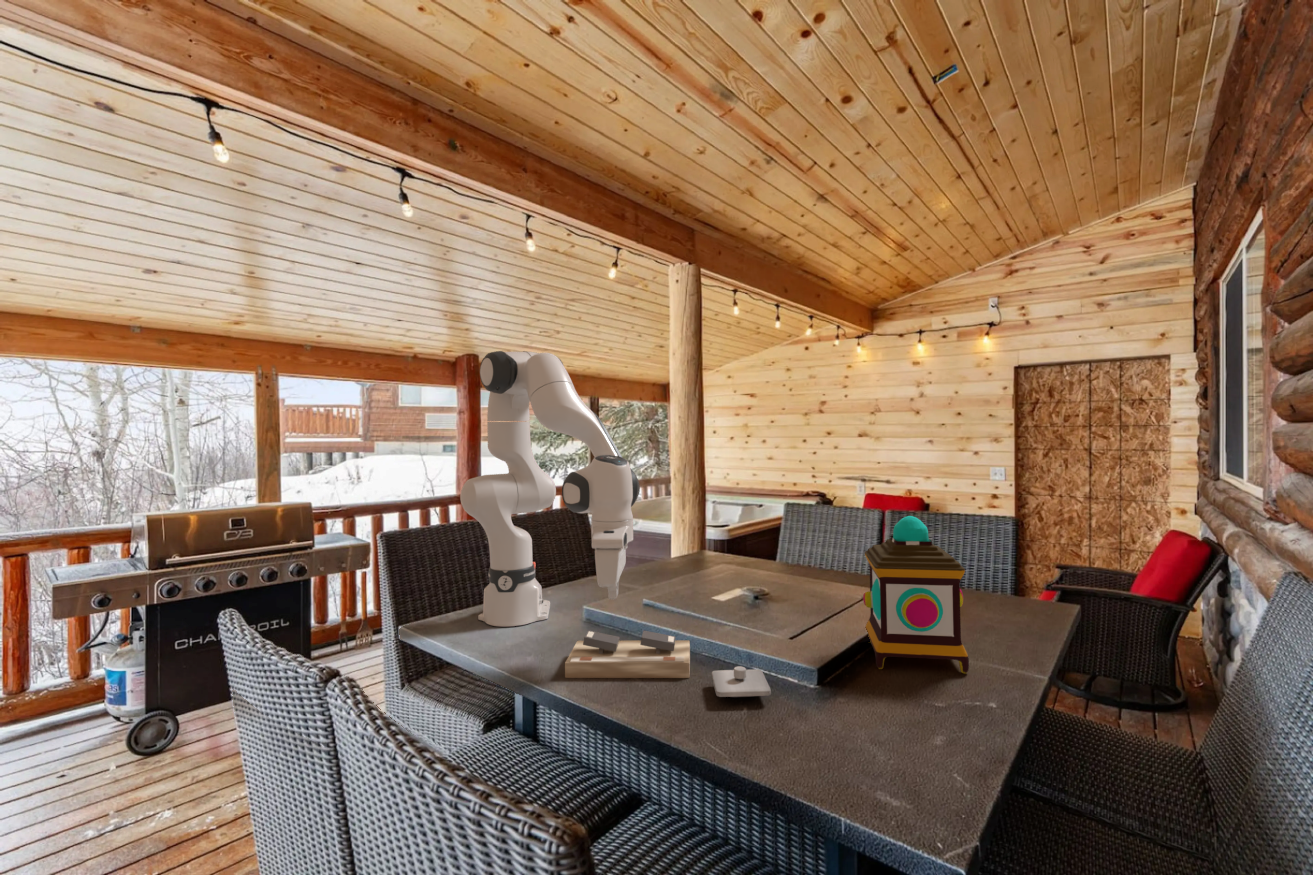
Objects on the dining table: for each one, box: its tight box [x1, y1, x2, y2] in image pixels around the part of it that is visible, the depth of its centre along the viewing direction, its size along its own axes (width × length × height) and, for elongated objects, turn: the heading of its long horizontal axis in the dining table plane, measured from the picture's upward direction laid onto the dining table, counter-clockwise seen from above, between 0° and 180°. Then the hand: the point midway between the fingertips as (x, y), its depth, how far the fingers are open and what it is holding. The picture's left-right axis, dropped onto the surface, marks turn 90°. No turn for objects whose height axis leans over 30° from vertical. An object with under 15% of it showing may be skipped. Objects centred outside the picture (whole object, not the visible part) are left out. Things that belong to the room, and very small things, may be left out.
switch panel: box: [564, 639, 691, 679], centre depth 127 cm, size 13×25×4 cm, turn 86°
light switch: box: [711, 665, 772, 698], centre depth 112 cm, size 10×10×5 cm
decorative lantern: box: [862, 515, 970, 674], centre depth 128 cm, size 20×20×30 cm
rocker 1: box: [583, 630, 620, 652], centre depth 127 cm, size 4×7×2 cm, turn 86°
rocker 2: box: [640, 629, 676, 651], centre depth 127 cm, size 4×7×2 cm, turn 86°
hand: (613, 597), depth 128 cm, fingers closed
